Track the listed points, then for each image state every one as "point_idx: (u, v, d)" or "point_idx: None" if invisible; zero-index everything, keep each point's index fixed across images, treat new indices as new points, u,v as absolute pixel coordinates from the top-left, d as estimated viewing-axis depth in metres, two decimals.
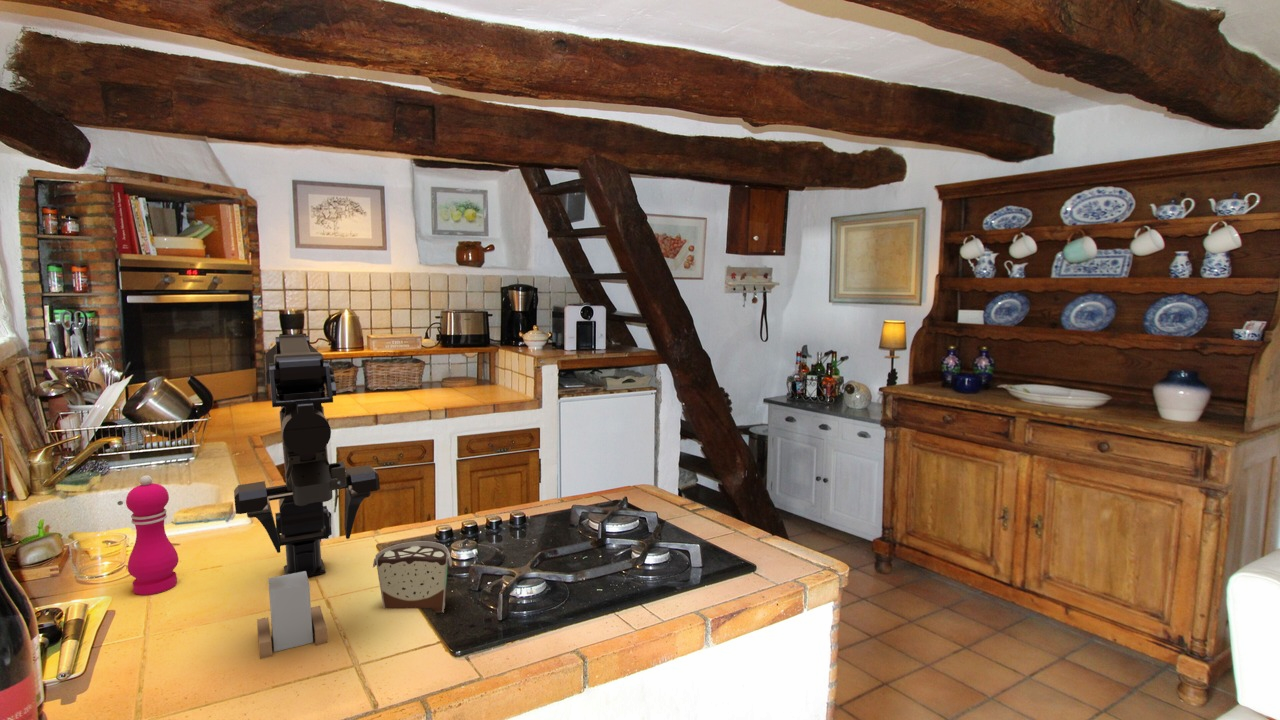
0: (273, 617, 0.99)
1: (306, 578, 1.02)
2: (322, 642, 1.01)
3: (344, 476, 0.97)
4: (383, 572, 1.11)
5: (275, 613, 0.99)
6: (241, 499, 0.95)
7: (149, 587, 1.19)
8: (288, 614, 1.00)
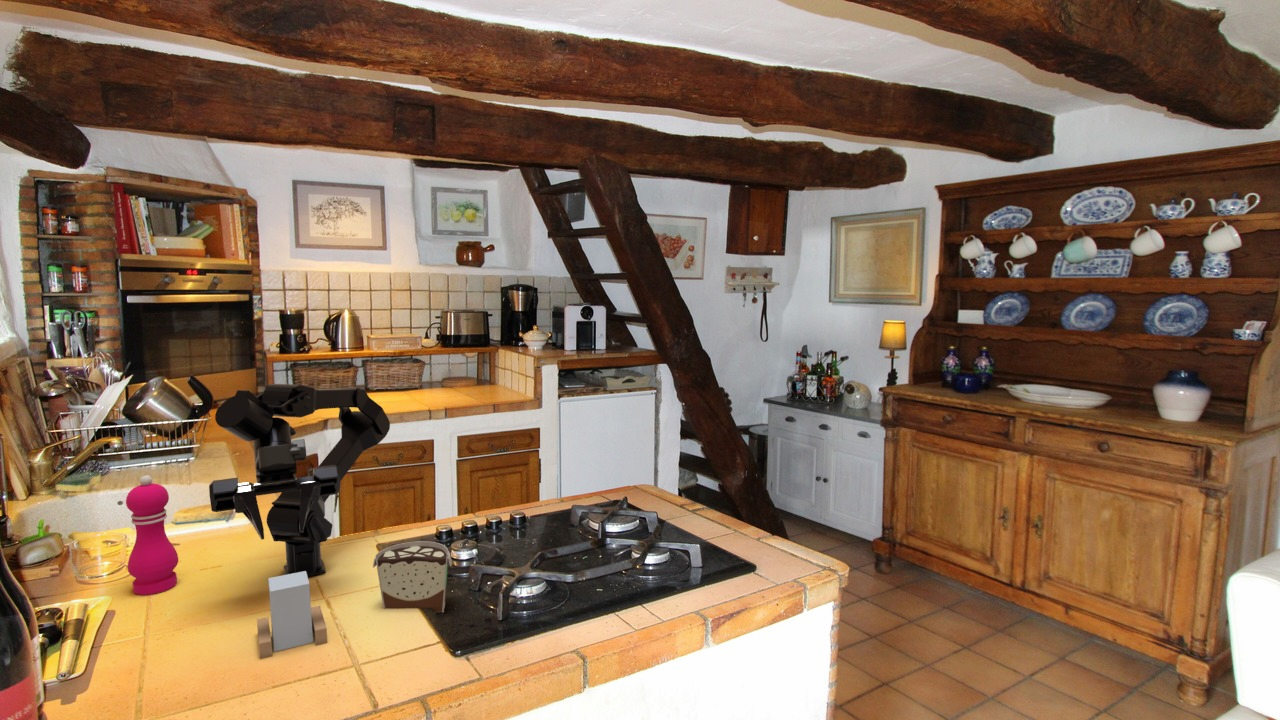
0: (273, 617, 0.99)
1: (306, 578, 1.02)
2: (322, 642, 1.01)
3: (303, 445, 1.12)
4: (383, 572, 1.11)
5: (275, 613, 0.99)
6: (215, 482, 1.08)
7: (149, 587, 1.19)
8: (288, 614, 1.00)
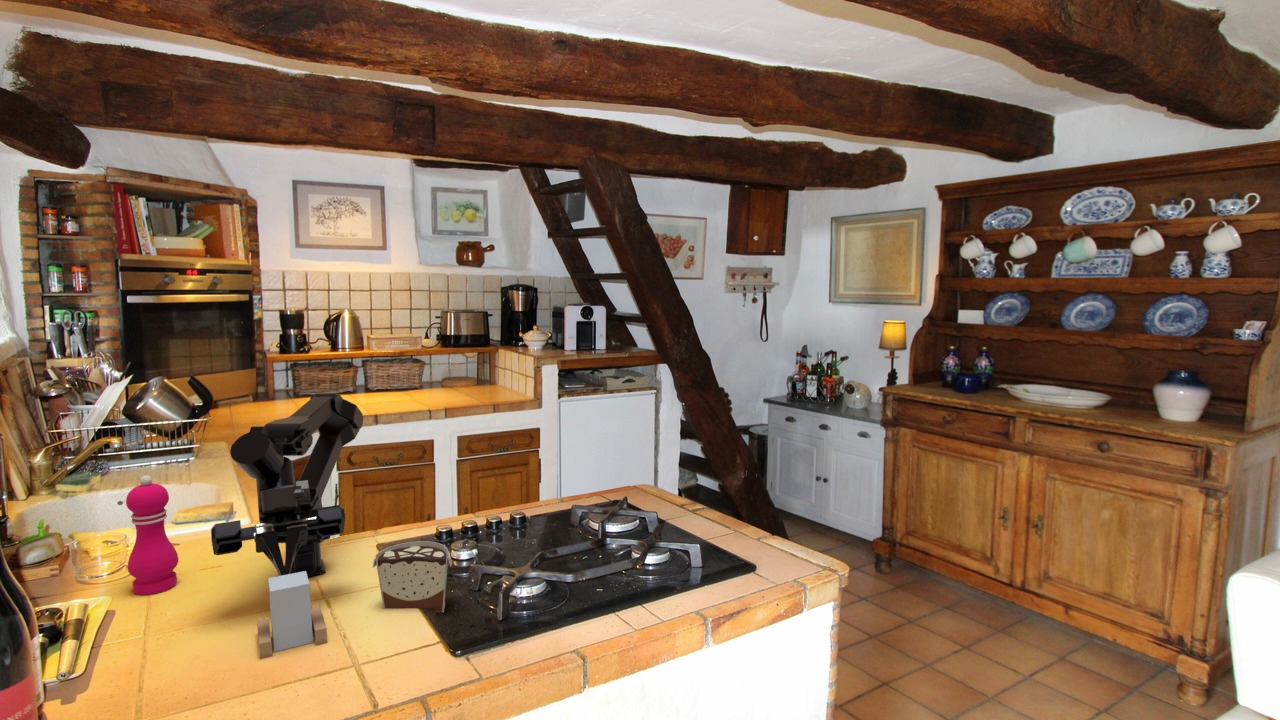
0: (273, 617, 0.99)
1: (306, 578, 1.02)
2: (322, 642, 1.01)
3: (307, 486, 1.10)
4: (383, 572, 1.11)
5: (275, 613, 0.99)
6: (217, 526, 1.06)
7: (149, 587, 1.19)
8: (288, 614, 1.00)
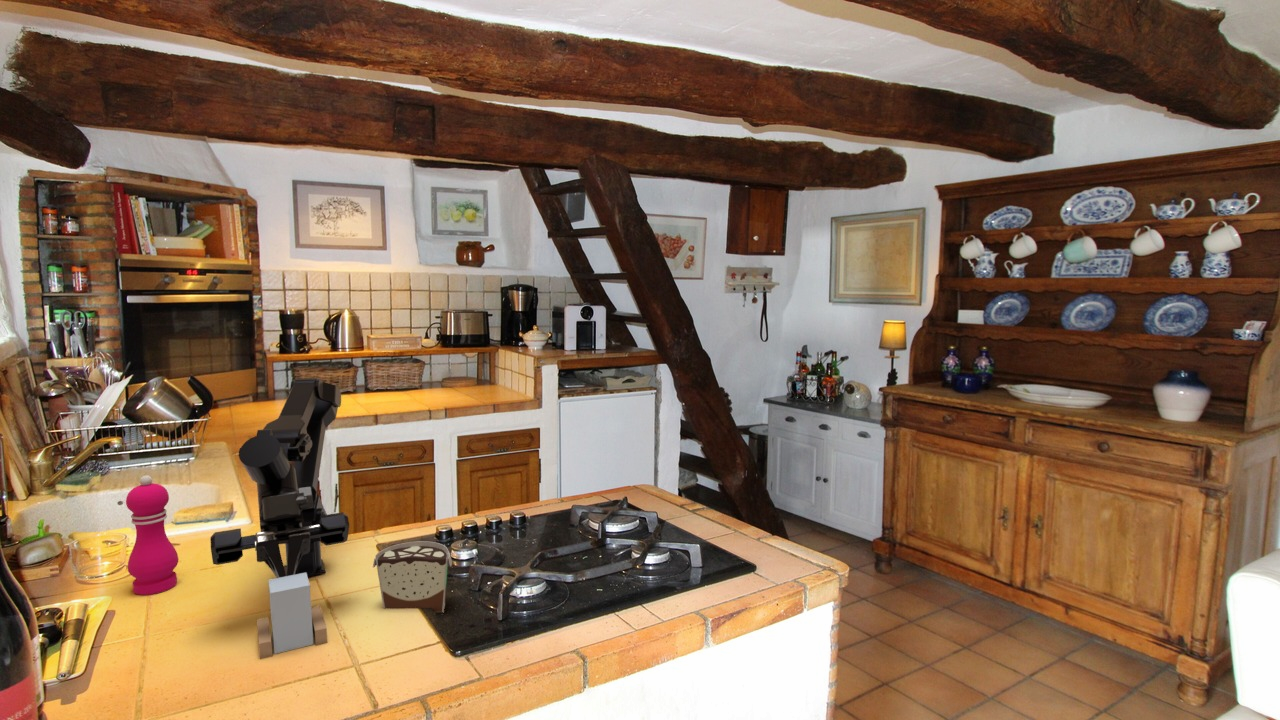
0: (273, 619, 0.98)
1: (306, 580, 1.02)
2: (322, 642, 1.01)
3: (310, 493, 1.06)
4: (383, 572, 1.11)
5: (275, 614, 0.98)
6: (216, 534, 1.02)
7: (149, 587, 1.19)
8: (289, 616, 0.99)
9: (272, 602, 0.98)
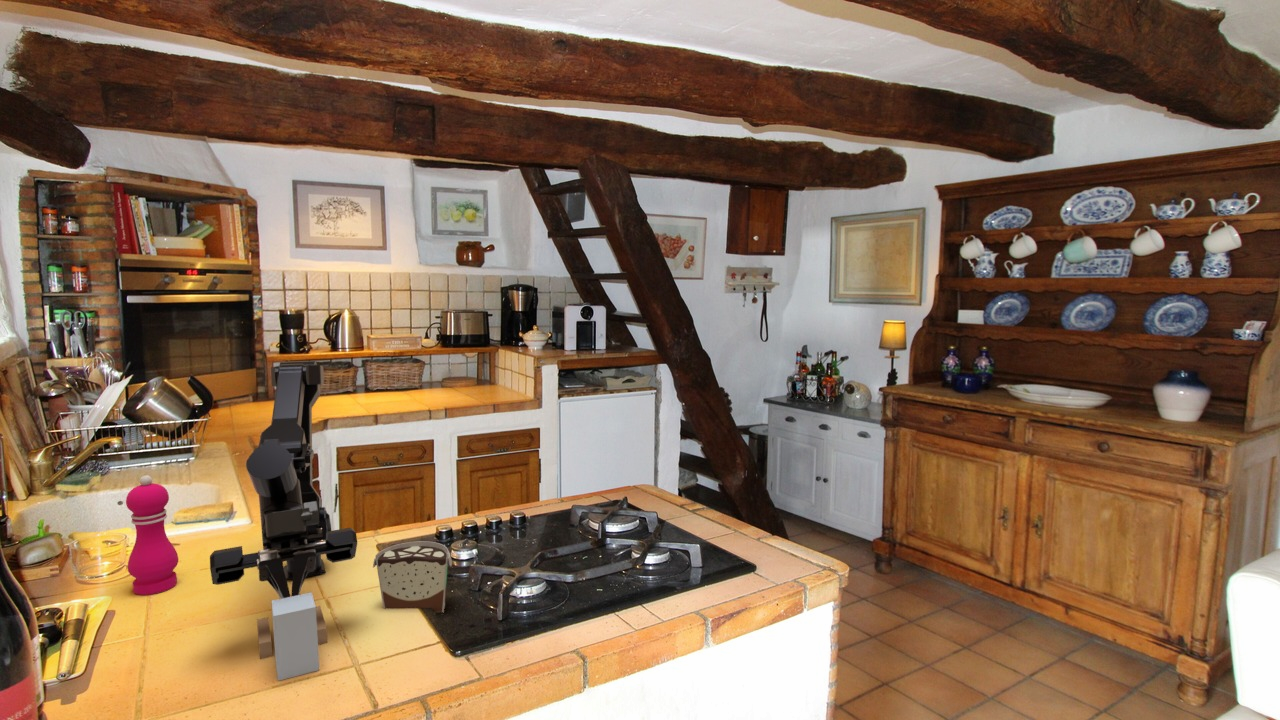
0: (277, 643, 0.92)
1: (312, 601, 0.95)
2: (322, 642, 1.01)
3: (316, 508, 1.00)
4: (383, 572, 1.11)
5: (279, 639, 0.92)
6: (216, 553, 0.96)
7: (149, 587, 1.19)
8: (293, 640, 0.93)
9: (275, 626, 0.91)
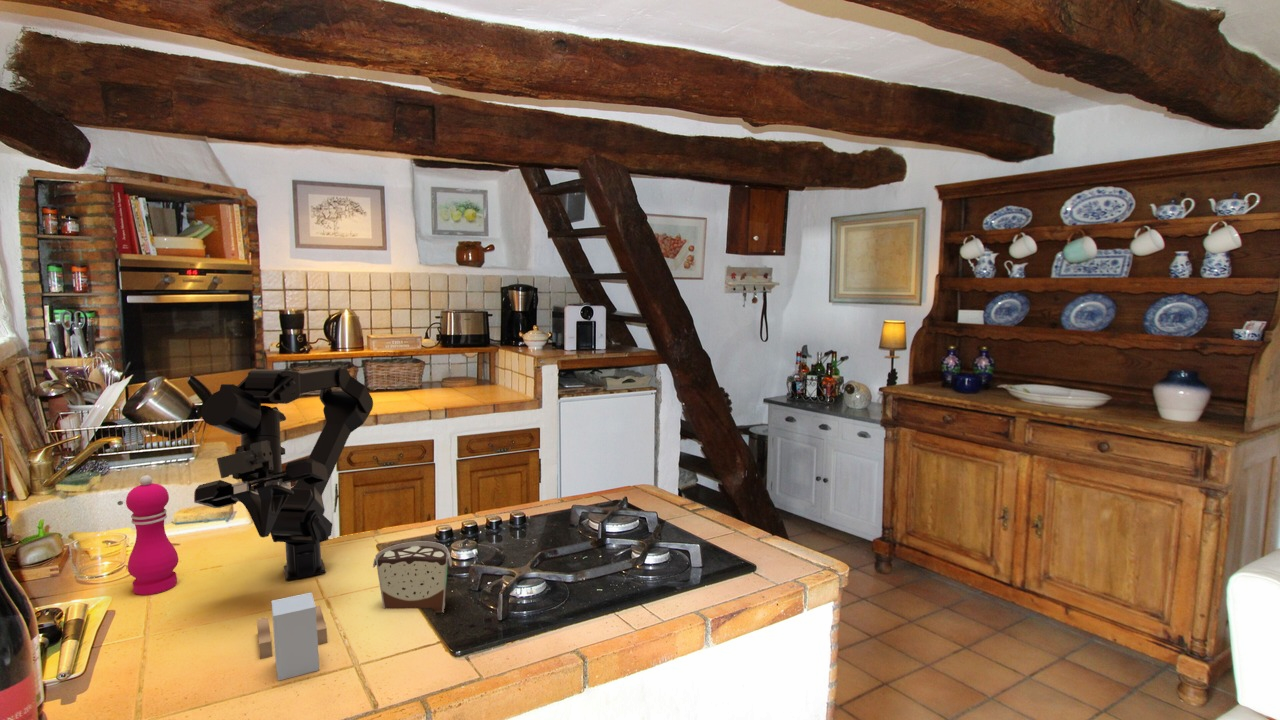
0: (277, 643, 0.92)
1: (312, 601, 0.95)
2: (322, 642, 1.01)
3: (260, 449, 1.06)
4: (383, 572, 1.11)
5: (279, 639, 0.92)
6: (197, 488, 1.09)
7: (149, 587, 1.19)
8: (293, 640, 0.93)
9: (275, 626, 0.91)
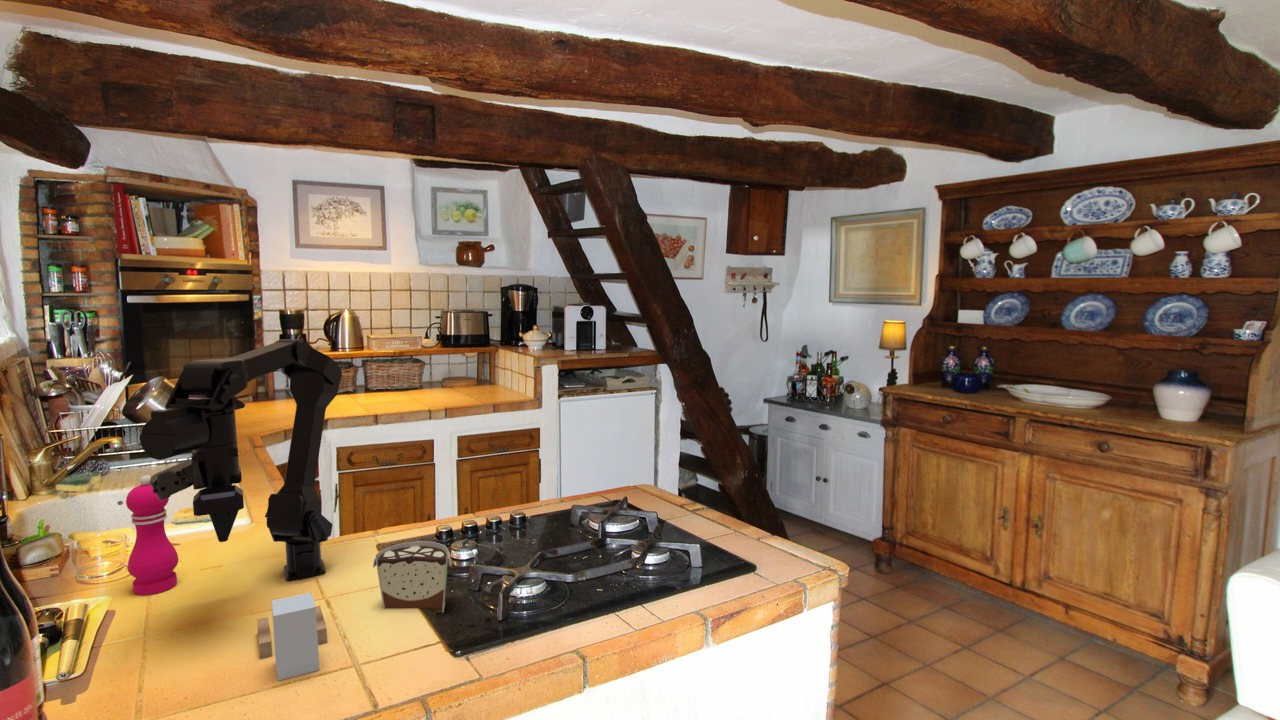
0: (277, 643, 0.92)
1: (312, 601, 0.95)
2: (322, 642, 1.01)
3: (157, 484, 1.00)
4: (383, 572, 1.11)
5: (279, 639, 0.92)
6: None
7: (149, 587, 1.19)
8: (293, 640, 0.93)
9: (275, 626, 0.91)
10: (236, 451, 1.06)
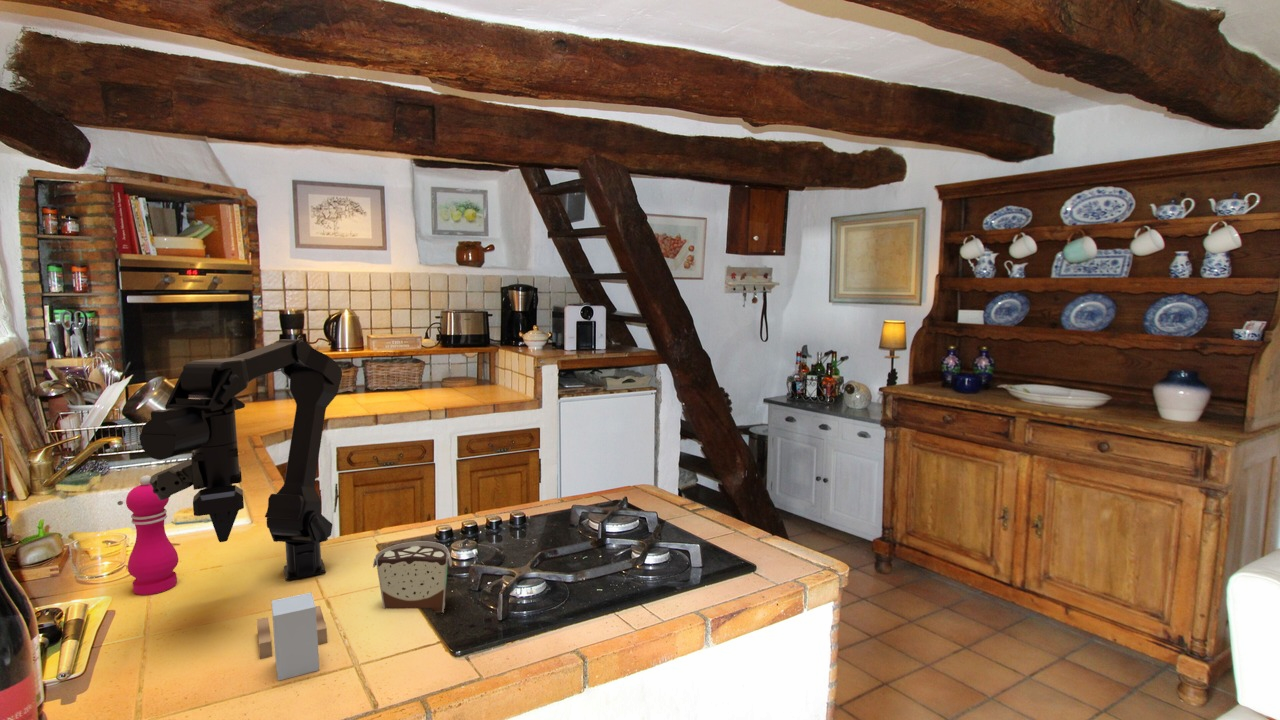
0: (277, 643, 0.92)
1: (312, 601, 0.95)
2: (322, 642, 1.01)
3: (157, 484, 1.00)
4: (383, 572, 1.11)
5: (279, 639, 0.92)
6: None
7: (149, 587, 1.19)
8: (293, 640, 0.93)
9: (275, 626, 0.91)
10: (236, 451, 1.06)
